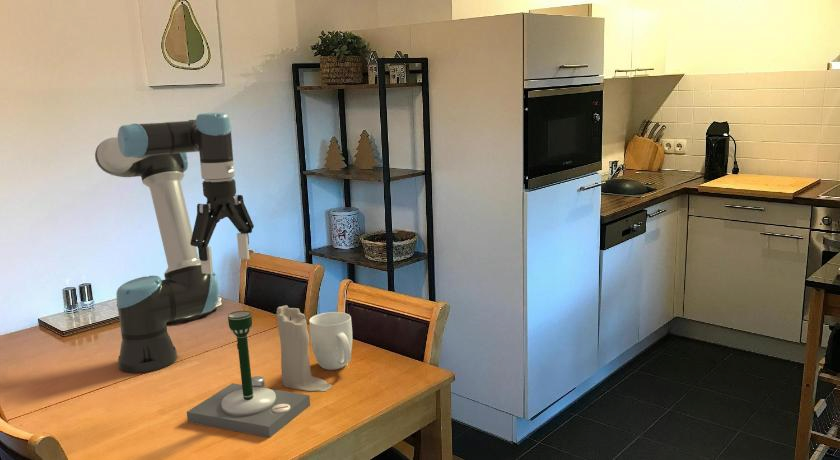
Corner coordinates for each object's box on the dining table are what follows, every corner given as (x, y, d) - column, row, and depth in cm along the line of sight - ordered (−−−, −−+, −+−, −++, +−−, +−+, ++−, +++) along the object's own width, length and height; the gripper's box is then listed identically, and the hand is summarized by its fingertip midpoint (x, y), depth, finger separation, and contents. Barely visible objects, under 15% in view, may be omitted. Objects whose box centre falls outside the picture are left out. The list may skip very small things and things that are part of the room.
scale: (187, 422, 153) (185, 406, 152) (233, 392, 167) (231, 378, 167) (269, 437, 144) (268, 421, 144) (310, 405, 159) (309, 390, 158)
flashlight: (246, 392, 159) (237, 309, 155) (264, 394, 157) (256, 311, 153) (232, 401, 154) (222, 316, 150) (251, 404, 152) (241, 318, 148)
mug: (368, 370, 177) (365, 322, 174) (330, 382, 171) (326, 332, 169) (342, 354, 189) (339, 308, 187) (305, 364, 183) (302, 317, 181)
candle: (321, 394, 164) (314, 315, 160) (276, 385, 171) (269, 308, 167) (338, 383, 170) (333, 306, 166) (295, 374, 177) (288, 300, 173)
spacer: (245, 389, 169) (244, 380, 169) (258, 383, 172) (258, 374, 172) (254, 393, 167) (253, 384, 166) (268, 388, 170) (267, 379, 169)
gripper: (194, 188, 149) (203, 281, 154) (263, 172, 171) (270, 254, 176) (167, 186, 152) (177, 278, 157) (239, 171, 174) (246, 252, 179)
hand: (226, 265), depth 166 cm, fingers open, 13 cm apart
